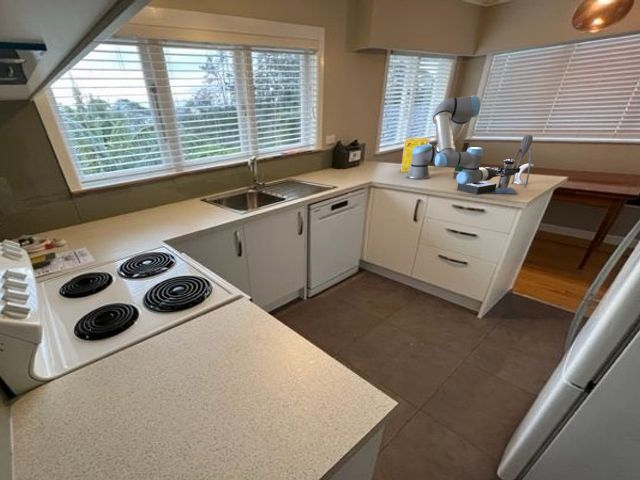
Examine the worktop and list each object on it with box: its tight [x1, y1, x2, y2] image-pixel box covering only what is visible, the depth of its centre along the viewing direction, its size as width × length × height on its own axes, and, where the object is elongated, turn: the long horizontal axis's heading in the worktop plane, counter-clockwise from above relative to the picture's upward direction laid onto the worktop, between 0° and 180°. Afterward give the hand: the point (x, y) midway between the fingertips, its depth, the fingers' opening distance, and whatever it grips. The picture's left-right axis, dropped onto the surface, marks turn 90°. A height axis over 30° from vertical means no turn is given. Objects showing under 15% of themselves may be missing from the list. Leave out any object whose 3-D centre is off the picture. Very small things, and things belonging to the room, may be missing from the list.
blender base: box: [456, 181, 498, 195], centre depth 184 cm, size 14×14×4 cm
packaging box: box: [400, 136, 431, 173], centre depth 246 cm, size 16×16×25 cm
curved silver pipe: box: [513, 162, 534, 185], centre depth 188 cm, size 5×6×12 cm
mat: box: [489, 186, 518, 196], centre depth 179 cm, size 14×12×1 cm
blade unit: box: [497, 158, 518, 189], centre depth 175 cm, size 6×6×17 cm
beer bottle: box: [452, 142, 470, 179], centre depth 211 cm, size 8×8×24 cm
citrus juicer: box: [511, 134, 534, 189], centre depth 180 cm, size 11×10×30 cm
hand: (514, 169), depth 175 cm, fingers closed on blade unit, 5 cm apart
